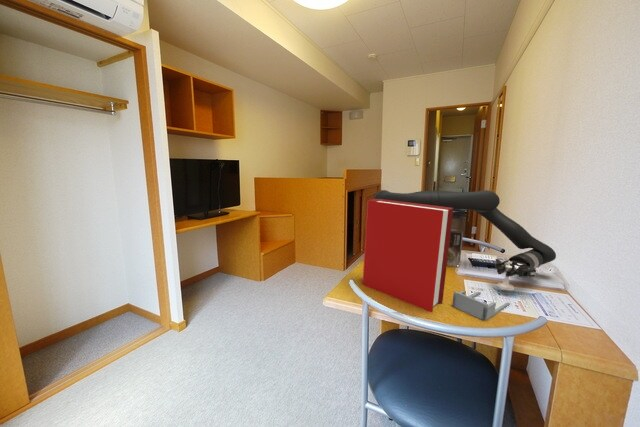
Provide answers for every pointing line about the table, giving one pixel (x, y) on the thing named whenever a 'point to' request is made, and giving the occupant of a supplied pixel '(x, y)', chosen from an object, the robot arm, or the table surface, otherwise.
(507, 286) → the chess piece
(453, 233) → the coffee box
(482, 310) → the chute
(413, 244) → the book
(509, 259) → the robot arm
